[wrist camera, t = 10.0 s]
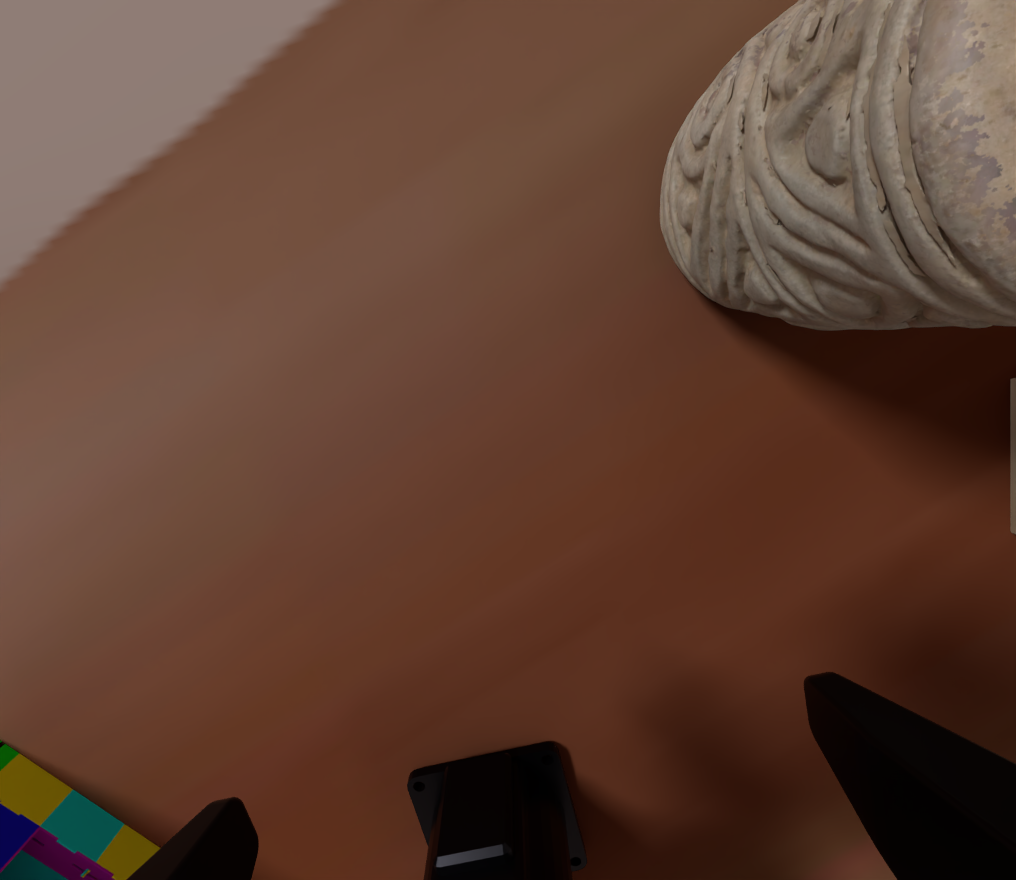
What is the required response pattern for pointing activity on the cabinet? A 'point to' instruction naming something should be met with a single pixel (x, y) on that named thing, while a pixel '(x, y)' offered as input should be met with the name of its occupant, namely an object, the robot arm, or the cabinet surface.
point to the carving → (856, 169)
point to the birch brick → (1013, 452)
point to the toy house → (59, 829)
